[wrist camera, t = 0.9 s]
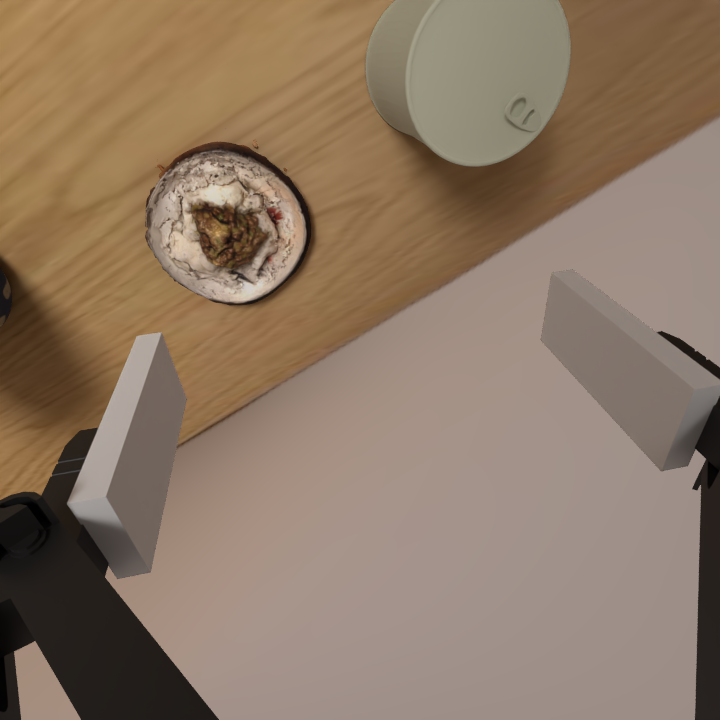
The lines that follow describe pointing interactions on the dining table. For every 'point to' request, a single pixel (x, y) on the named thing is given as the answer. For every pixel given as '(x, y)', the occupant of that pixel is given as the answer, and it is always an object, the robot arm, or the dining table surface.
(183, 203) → the sushi roll
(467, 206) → the dining table surface
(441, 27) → the can
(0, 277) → the canister
